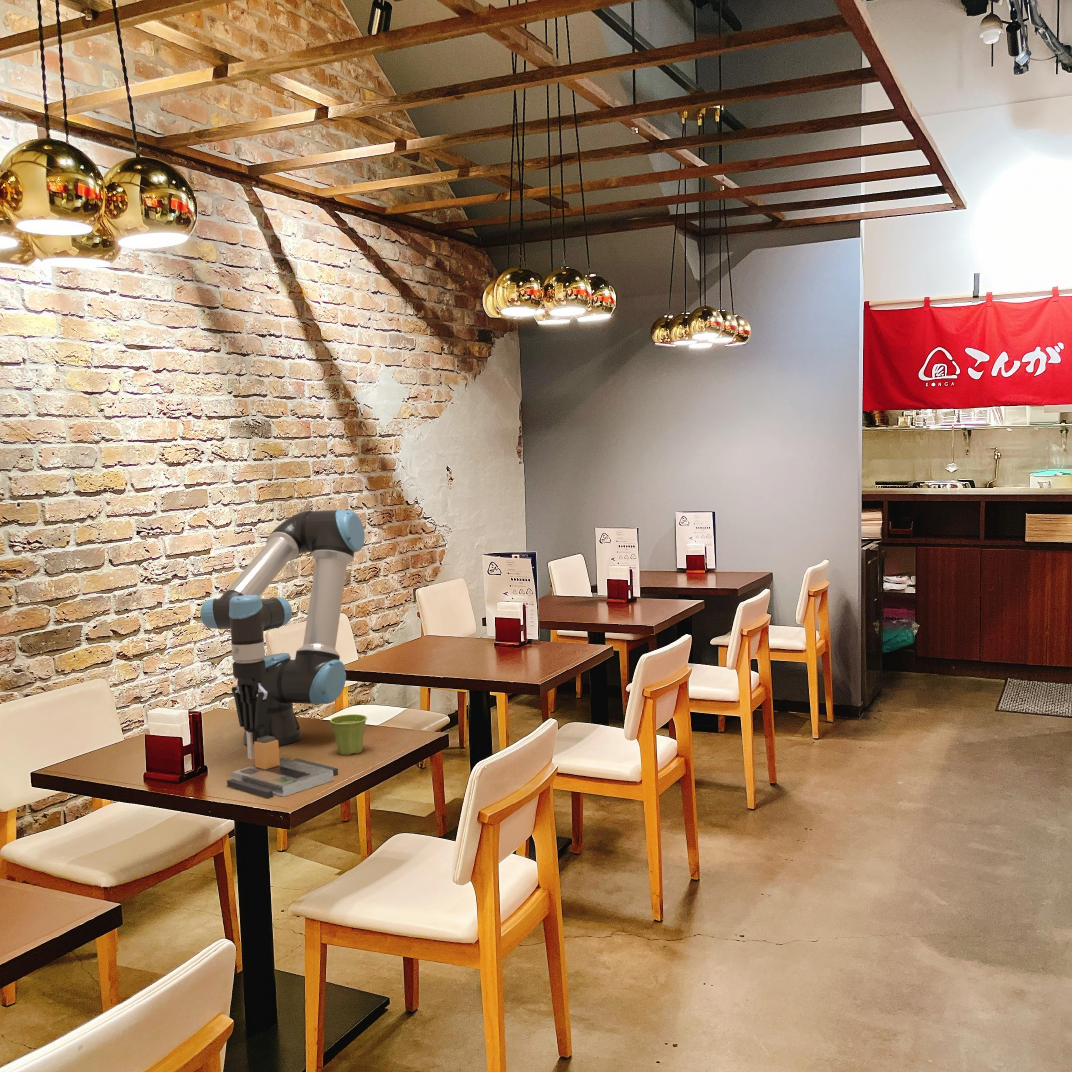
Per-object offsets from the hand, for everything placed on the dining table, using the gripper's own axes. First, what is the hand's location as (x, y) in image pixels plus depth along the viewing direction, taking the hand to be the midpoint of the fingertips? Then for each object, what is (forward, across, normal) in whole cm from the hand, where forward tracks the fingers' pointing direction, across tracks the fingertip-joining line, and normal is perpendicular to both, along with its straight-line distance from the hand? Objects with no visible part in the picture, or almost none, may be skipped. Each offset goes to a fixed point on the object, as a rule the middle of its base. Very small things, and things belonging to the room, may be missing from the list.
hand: (254, 757), depth 241 cm
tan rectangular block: (+1, +5, 0) cm, 5 cm away
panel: (+4, +11, 0) cm, 11 cm away
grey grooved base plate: (+4, +11, 0) cm, 11 cm away
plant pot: (+4, +4, +25) cm, 26 cm away
